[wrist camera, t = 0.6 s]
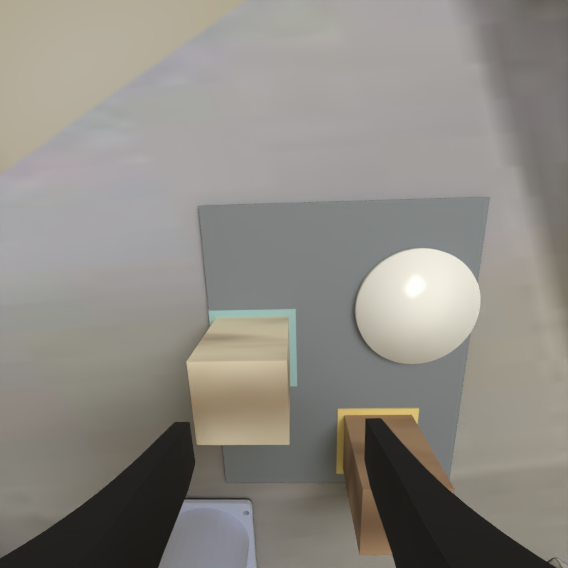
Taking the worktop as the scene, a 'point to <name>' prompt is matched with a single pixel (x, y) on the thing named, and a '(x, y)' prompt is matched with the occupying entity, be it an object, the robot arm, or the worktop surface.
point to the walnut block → (357, 481)
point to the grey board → (335, 319)
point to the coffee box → (558, 563)
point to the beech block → (242, 382)
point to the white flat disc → (417, 305)
